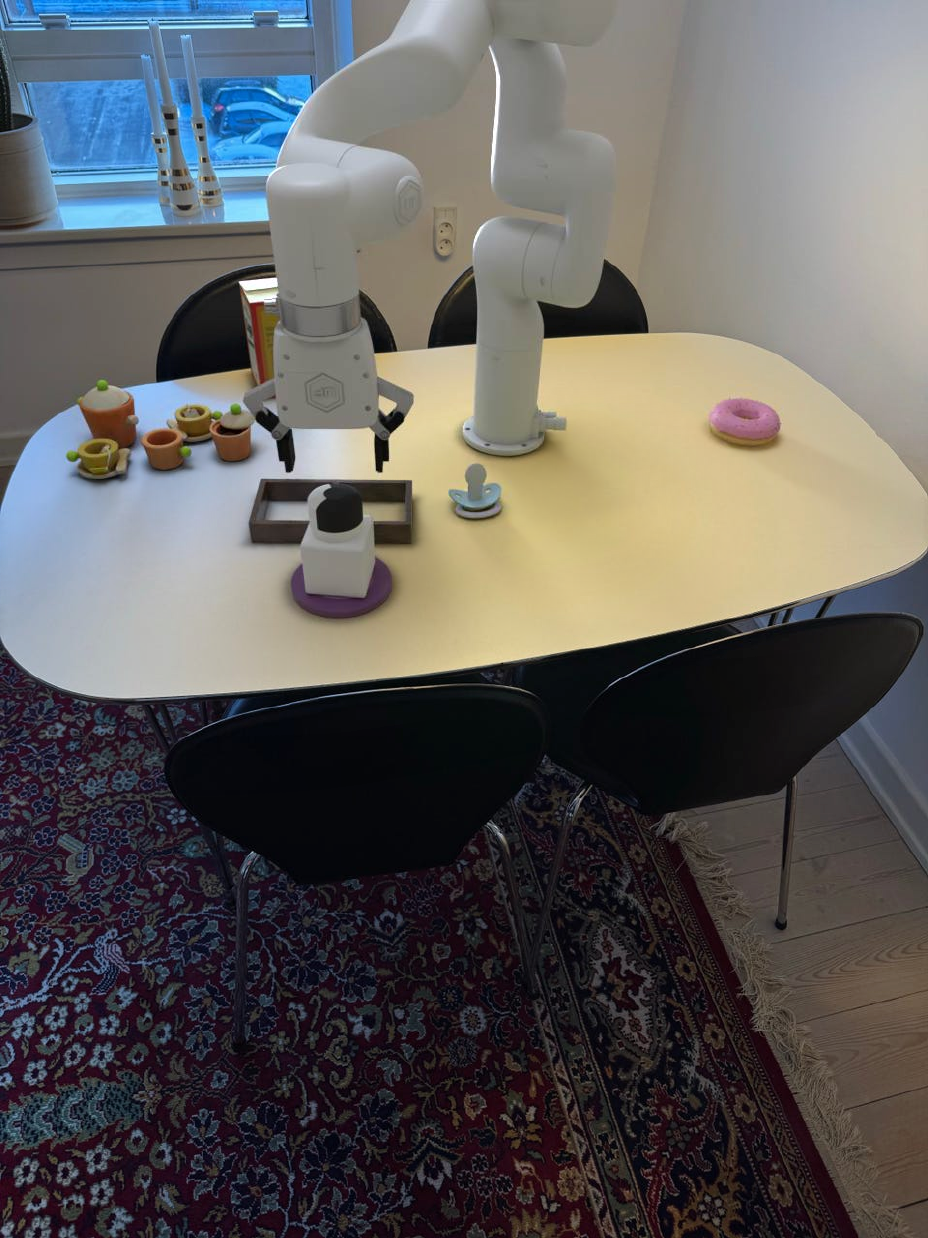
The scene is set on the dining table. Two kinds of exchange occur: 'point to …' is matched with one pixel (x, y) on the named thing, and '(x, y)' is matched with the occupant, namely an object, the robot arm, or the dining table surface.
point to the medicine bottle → (338, 543)
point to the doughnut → (744, 421)
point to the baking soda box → (259, 326)
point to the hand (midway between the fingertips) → (335, 465)
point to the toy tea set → (153, 433)
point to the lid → (339, 604)
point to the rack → (300, 492)
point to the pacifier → (477, 494)
